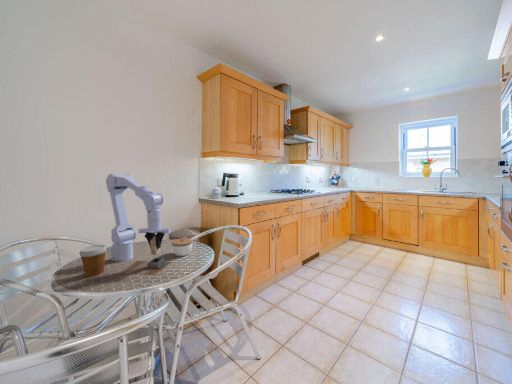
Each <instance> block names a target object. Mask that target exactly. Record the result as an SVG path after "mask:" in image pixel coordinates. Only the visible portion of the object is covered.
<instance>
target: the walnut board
mask: <svg viewBox="0 0 512 384" xmlns="http://www.w3.org/2000/svg"><path fill="white" fill-rule="evenodd" d="M149 261H150V260H135V261H134V262H132V263H131V264H129V265H128V266H126V267H125V268H123V269H121V270H120V271H118V272H116V274H117V275H150V276H153V275H154V276H157V275H159V274H160V272H162V271H163V270H164V269H165V268H166V267H168V265H169V264H171V263H172V261H166V262H167V263H166V264H165V265H164V266H163V267H162V268H160V269H145V267H146V266H147V263H148V262H149Z"/></svg>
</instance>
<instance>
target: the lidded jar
mask: <svg viewBox="0 0 512 384" xmlns="http://www.w3.org/2000/svg"><path fill="white" fill-rule="evenodd" d="M171 249H172V252H173V254H174V255H175V256H177V257H184V256H187V255H189V254H190V253H191V252H192V249H193V239H191V238H185V237H181V238H178V239H177V238H176V239H175V240H172V241H171Z"/></svg>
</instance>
